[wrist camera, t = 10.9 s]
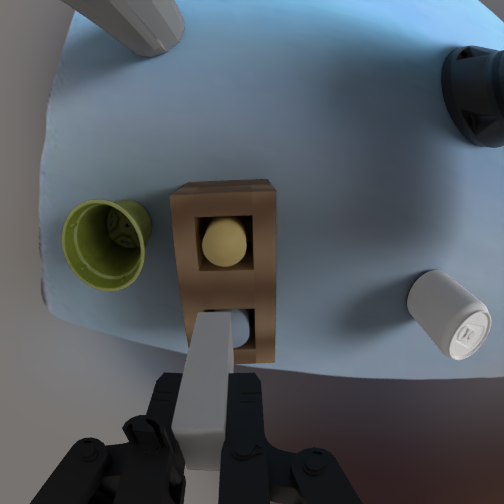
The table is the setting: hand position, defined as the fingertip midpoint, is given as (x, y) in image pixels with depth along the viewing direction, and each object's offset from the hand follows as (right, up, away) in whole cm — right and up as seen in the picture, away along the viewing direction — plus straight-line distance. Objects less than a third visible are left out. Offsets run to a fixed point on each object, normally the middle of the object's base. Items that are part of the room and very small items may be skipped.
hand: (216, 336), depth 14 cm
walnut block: (-1, +3, +23) cm, 23 cm away
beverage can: (+28, -2, +26) cm, 38 cm away
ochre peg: (-1, +7, +20) cm, 21 cm away
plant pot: (-13, +7, +21) cm, 26 cm away
